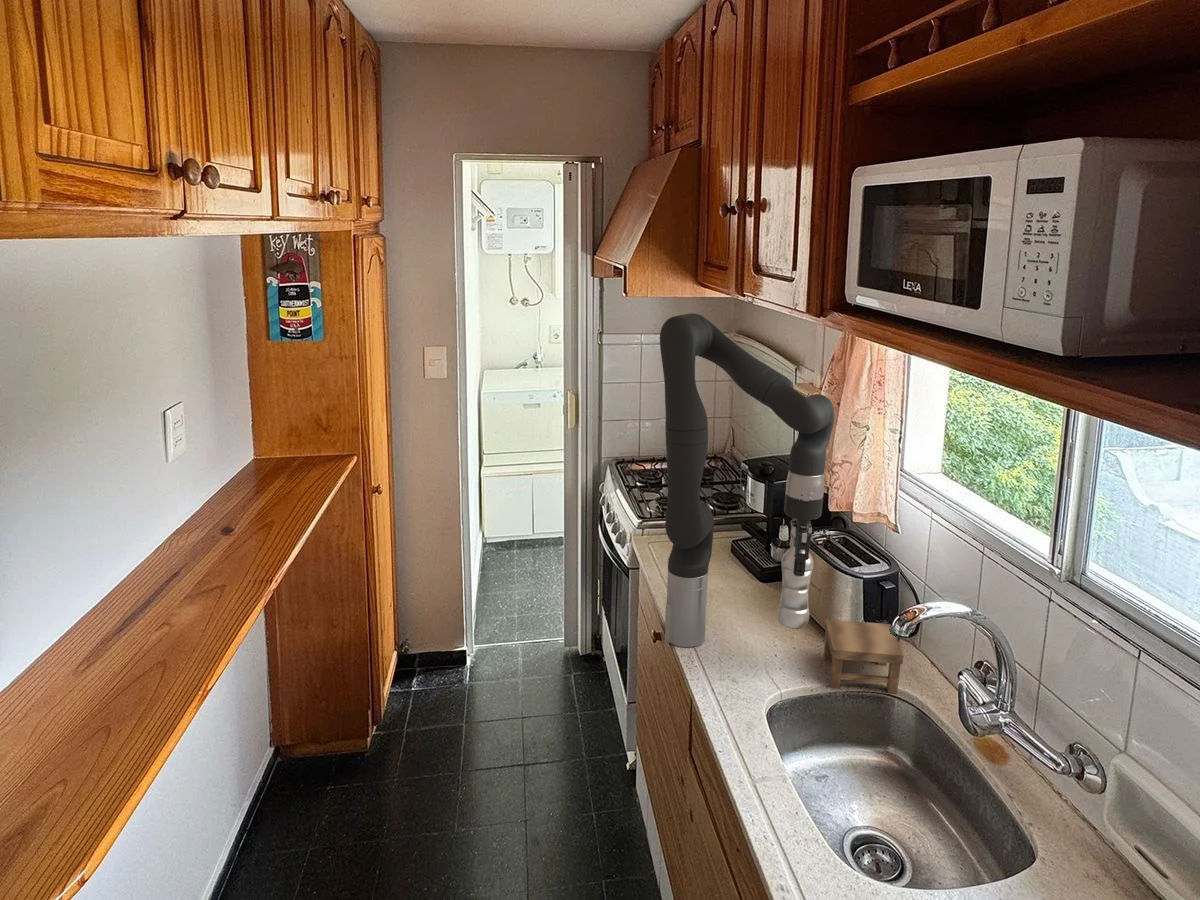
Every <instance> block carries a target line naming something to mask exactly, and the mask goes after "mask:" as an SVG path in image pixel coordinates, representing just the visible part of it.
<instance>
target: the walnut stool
mask: <svg viewBox="0 0 1200 900" xmlns="http://www.w3.org/2000/svg"><path fill="white" fill-rule="evenodd" d="M824 621H825V622H824V630H825V635H824V636H825V637H824V638H825V639H824V648H823V660H824V661H828V662H831V665H830V667H831V668H830V676H829V677H830V678H829V685H830V688H831V689H840V688H841V680H846V681H856V682H871V683H883V684H886V691H887V693H888V694H898V690H899V681H900V672H901V665H903V664H904V653H903V651H902V649H901V648H902V647H900V644H899V641H898V639H897V636H896V635H895V636H896V637H895V636H893V635H892V634H890V632H889V628H890V626H891V627H892V625H891V623H881V622H880V623H879V622H868V621H866V622H864V621H851V620H839V619H827V618H826V619H825V620H824ZM844 660H845V661H856V662H857V661H859V662H869V663H877V665H878V666H887V665H888V672H887V675H886V676H885V675H875V674H874V675H873V674H863V673H850V672H842V670H843V661H844Z"/></svg>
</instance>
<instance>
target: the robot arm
mask: <svg viewBox="0 0 1200 900" xmlns="http://www.w3.org/2000/svg"><path fill="white" fill-rule="evenodd" d="M659 347H660V348H659V349H660V358H661V364H662V365H661V366H662V373H663V382H664V405H665V406H664V407H665V408H664V409H665V449H666V474H667V498H666V500H667V501H666V512H665V520H664V521H665V523H664V526H665V527H664V529H665V532H666V536H667V538H668V539H669V541H670V543H672V548H671V550H670V553H669V554H670V555H669V556H668V559H667V583H666V584H667V585H666V586H667V587H666V589H667V590H666V601H665V616H664V617H665V619H664V621H665V622H664V623H665V624H664V643H668V644H671V645H673V646H675V647H676V646H677V647H680V648H681V647H682V648H694V647H698V646H700V645H702V644H703V643H704V642H705V639H706V625H707V624H706V620H707V603H708V602H707V601H708V600H707V599H708V581H709V579H708V578H709V567H710V566H709V565H710V561H711V558H712V552H713V543H714V541H713V540H714V529H715V527H714V526H715V525H714V515H713V512H712V510H711V508H710V507H709V505H708V504H706V502H703V501H702V500H701V484H702V479H703V474H704V470H705V465H706V460H707V455H708V447H709V426H708V425H709V421H708V415H707V414H708V413H707V412H706V408H705V406H704V404H703V401H702V399H701V396H700V394H699V391H698V388H697V382H696V357H697V356H698V357H699V358H702V359H705V360H706V361H707V360H708V361H709V362H711V363H714V365H716V366H718V367H720V368H721V369H722V370H723V371H724V372H725V373H726V374H727V375H728V376H729V377H730V378H731V380H733V382H734V383H735V384H736V385H737V386H738V387H739V388H740V389H741V390H742V391H743V392H745V393H746V394H747V395H749V396H750V397H752V398H754V399H755V400H757V401H758V402H759V403H761V404H763V405H764V406H766V407H767V408H770V410H772V412H773V413H774V414H775V415H776V416H777V417H778V418H779V419H780V420H781V421H782V422H784V423H785V424H786V425H787V426H788V427H789V428H791V429H792V430H794V431H796V432H798V433H797V438H796V440H795V442H793V444H792V446H791V449H790V455H789V463H788V464H789V466H788V473H787V477H786V481H785V482H786V483H785V493H784V494H785V496H784V506H783V507H784V508H783V509H784V510H783V512H784V514H785V515H786V516H788V517H790V518H792V520H790V537H791V536H793V544H792V545H793V547H794V548H795V554H794V557H795V560H794V571H793V573H794V575H795V576H804V575H805V565H806V560H808V558H809V553H810V547H811V539H812V532H813V526H812V523H811V521H813V520H816V519H819V518H820V517H821V516H822V514H823V513H822V512H823V503H824V493H825V469H826V468H825V467H826V461H827V460H826V459H827V457H826V455H827V449H828V446H829V443H830V438H831V435H832V432H833V427H834V424H835V423H834V422H835V407H834V404H833V402H832V401H831V400H830V398H828V397H827V396H826V395H823V394H820V393H815V394H811V395H809V396H805V395H804V394H802V393H801V392H799V391H798V390H796V388H795V387H794V383H793V382H792V381H791V380H790V378H788V377H787V376H785V375H784V374H782V373H781V372H779V371H778V370H776V369H773V367H771V366H769V365H767V364H765V362H763V361H761V360H759V359H758V358H756V357H754V356H753V355H752V354H751V353H749V352H748V351H746V350H744V349H743V348H742V347H741V346H740V345H738V344H737V343H736V342H734V341H733V340H731V338H729V337H728V336H727V335H726V334H725V333H724V332H722V331H721V329H719V328H718V327H717V326H716V325H714V323H712V322H711V321H710V320H709V319H707V318H706V317H705V316H703V315H701V314H698V313H685V314H679V315H674V316H672V317H670V318H668V319H666V320H665V322H664V323H663V324H662V326H661V329H660V333H659ZM796 541H797V542H796ZM799 550H805V551H804V553H799Z"/></svg>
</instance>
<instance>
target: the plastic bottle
mask: <svg viewBox="0 0 1200 900" xmlns="http://www.w3.org/2000/svg"><path fill="white" fill-rule="evenodd" d="M796 542H797V541H796ZM792 544H793V536H791V535H790V541H789V547H790V548H788V550H786V551H785V552H784V553H783V555H782V558H781V575H782V579H781V580H782V581H781V583H782V584H781V586H782V587H781V593H780V599H779V604H778V606H777V611H776V617H777V620H778V622H779V624H780V625H781V626H782V627H784V628H788V629H793V630H799V629H803V628H805V627H806V626H807V625H808V623H809V620H810V609H809V587H810V583H811V578H812V573H813V569H814V565H815V564H814V563H815V562H814V558H813V557H812V554H811V553H810V552H809V558H808V560H806V565H805V575H804V576H795V575H794V573H793V571H794V560H795V557H794V554H795V548H794V547H793V545H792ZM804 551H805V550H799V553H804Z"/></svg>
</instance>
